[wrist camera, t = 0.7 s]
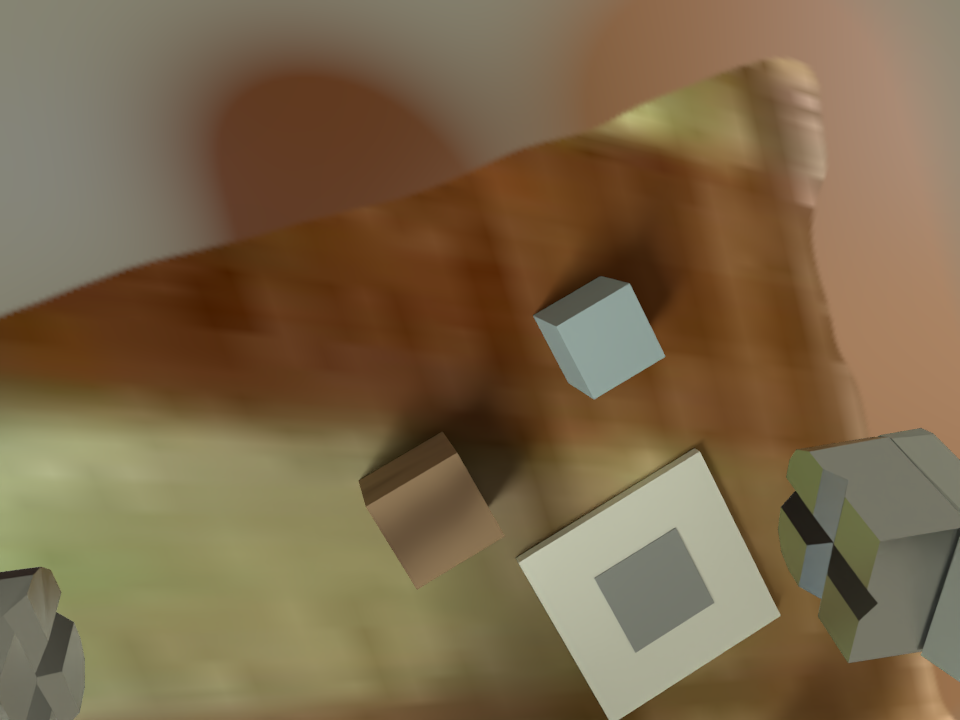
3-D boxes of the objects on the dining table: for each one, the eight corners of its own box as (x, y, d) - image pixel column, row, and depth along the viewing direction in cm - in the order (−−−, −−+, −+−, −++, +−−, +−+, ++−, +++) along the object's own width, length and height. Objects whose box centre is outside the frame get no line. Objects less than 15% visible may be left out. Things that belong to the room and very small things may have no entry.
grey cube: (633, 343, 59) (665, 356, 54) (567, 382, 58) (594, 399, 53) (600, 275, 57) (629, 283, 53) (532, 315, 57) (556, 326, 52)
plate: (774, 610, 64) (781, 616, 64) (607, 717, 63) (612, 725, 62) (694, 448, 61) (700, 451, 60) (515, 558, 59) (518, 563, 59)
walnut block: (486, 508, 59) (505, 536, 54) (405, 556, 58) (416, 589, 53) (442, 430, 57) (457, 452, 52) (358, 480, 56) (366, 506, 52)
